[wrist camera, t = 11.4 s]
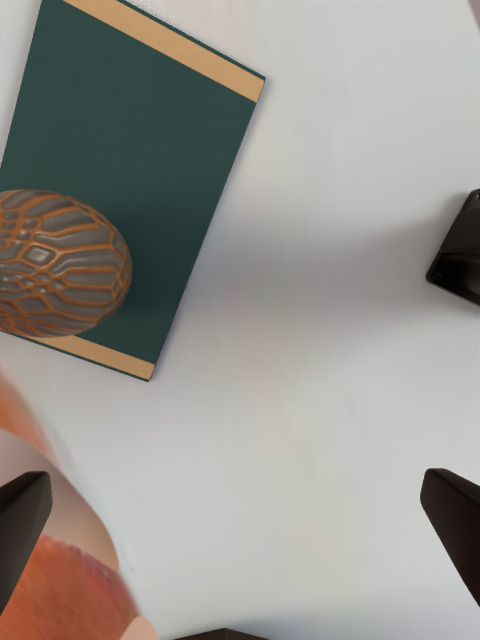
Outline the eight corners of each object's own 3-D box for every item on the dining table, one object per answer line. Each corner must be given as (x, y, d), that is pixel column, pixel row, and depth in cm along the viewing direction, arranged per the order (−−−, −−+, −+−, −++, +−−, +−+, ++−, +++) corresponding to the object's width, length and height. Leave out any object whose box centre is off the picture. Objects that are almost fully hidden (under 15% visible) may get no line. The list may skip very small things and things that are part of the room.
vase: (20, 301, 18) (-168, 342, 9) (40, 189, 16) (-157, 113, 8) (131, 332, 18) (54, 395, 10) (157, 228, 17) (95, 197, 9)
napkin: (265, 80, 16) (266, 76, 16) (149, 380, 20) (148, 382, 19) (54, -35, 14) (51, -41, 14) (-33, 317, 18) (-38, 318, 18)
